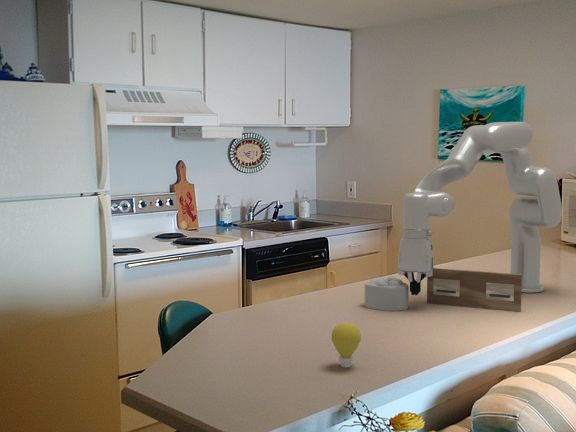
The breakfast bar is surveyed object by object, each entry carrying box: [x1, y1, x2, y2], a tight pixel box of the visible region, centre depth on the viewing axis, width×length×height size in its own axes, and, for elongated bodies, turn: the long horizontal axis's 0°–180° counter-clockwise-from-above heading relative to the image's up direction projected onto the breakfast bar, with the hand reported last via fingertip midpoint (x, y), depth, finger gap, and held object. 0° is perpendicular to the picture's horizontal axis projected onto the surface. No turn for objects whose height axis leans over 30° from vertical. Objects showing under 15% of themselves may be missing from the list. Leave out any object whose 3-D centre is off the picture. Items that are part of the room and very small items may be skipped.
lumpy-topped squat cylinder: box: [364, 276, 410, 312], centre depth 213 cm, size 10×13×9 cm
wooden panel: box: [426, 267, 522, 313], centre depth 212 cm, size 2×28×11 cm, turn 66°
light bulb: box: [330, 321, 362, 368], centre depth 157 cm, size 7×7×10 cm
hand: (415, 294), depth 209 cm, fingers closed
